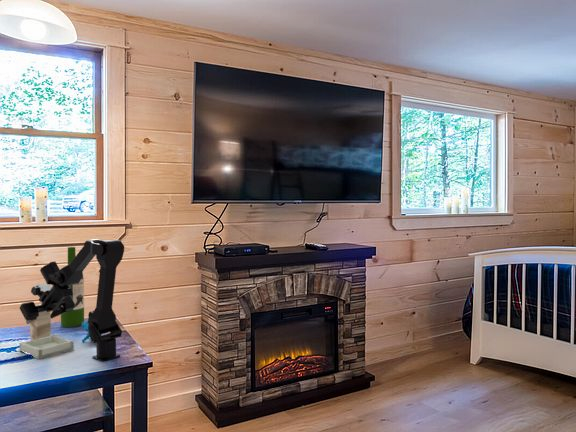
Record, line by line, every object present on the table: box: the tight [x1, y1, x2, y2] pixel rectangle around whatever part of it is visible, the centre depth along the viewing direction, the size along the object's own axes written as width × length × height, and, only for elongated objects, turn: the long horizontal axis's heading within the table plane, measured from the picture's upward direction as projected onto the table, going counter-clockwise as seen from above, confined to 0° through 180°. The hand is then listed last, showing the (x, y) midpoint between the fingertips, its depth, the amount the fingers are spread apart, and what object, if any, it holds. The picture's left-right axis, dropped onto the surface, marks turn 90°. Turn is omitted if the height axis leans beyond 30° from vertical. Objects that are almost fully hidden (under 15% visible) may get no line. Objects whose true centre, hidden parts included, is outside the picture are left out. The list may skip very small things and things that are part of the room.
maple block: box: [29, 303, 52, 341], centre depth 176 cm, size 5×5×13 cm
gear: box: [81, 321, 90, 343], centre depth 175 cm, size 11×6×10 cm
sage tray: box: [19, 334, 74, 360], centre depth 164 cm, size 13×12×3 cm
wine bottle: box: [60, 246, 85, 328], centre depth 197 cm, size 9×9×32 cm
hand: (39, 320), depth 176 cm, fingers open, 9 cm apart
